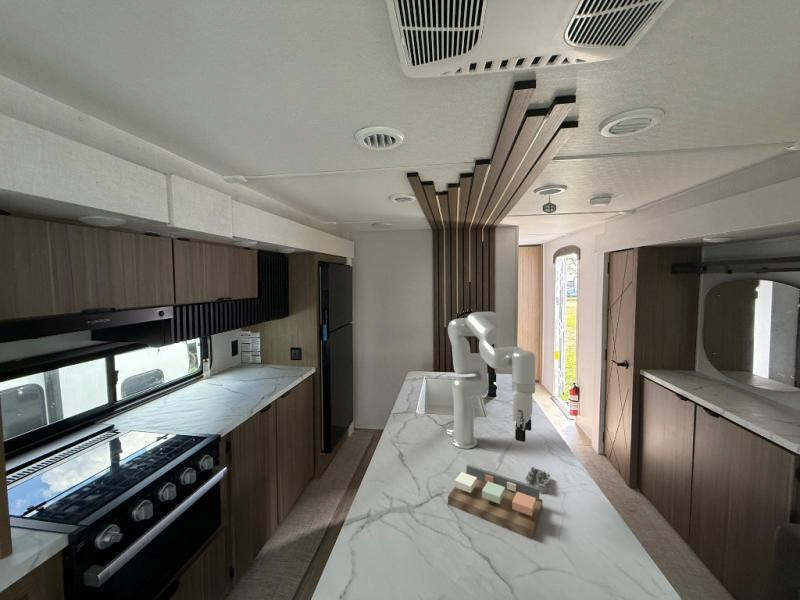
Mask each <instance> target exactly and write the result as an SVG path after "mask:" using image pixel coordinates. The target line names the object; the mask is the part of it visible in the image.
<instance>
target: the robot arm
mask: <svg viewBox="0 0 800 600" xmlns="http://www.w3.org/2000/svg"><path fill="white" fill-rule="evenodd" d="M500 325H501V320H500V316H499V315H498V313H496V312H494V311H475V312H471V313H469V315H468V316H467V317H461V318H455V319H452V320H450V321H449V323H448V326H447V333H448V334H447V335H448V338H449V340H450V345H451V352H452V353H451V355H452V364H453V370H454V373H456V374H457V375H471V374H474V375H472V376H462V377H457V378H455V379H453V381H452V382H451V390H452V397H453V429H451V428H447V429H446V435H447V436H450V443H451V444H452V445H453V447H456V448H459V449H467V450H468V449H472V448H475V447H477V445H478V440H477V438H476V437H475V407H474V404H473V402H472V401H471V400H470V398H475V397H483V396H486V395H487V394H488V392H489V377H488V376H489V375H488V374H489V373H488V366H489V367H490V368H492V369H494V370H495V369H496V370H500V369H509V368H511V391H513V397H512V418H511V419H512V420H513V421H515V429H514V430H515V434H514V437H515V438H514V439H515V441H519V442H523V443H525V442H526V437H527V435H526V431H529V432H531V431H532V415H533V394H535V393H536V355H535V353H534V352H532V351H530V350H525V349H523V348H522V347H519V346H505V347H502V346H501V347H495V346H492V345H494V344H495V343H496V342H497V341H498V340H499V337H500V331H499V327H500ZM466 337H476V338H477V339H478V340H479V342H478V350H479V352H473V353H472V352H471V345H470V343H469V341H468V339H467V338H466ZM487 365H488V366H487Z"/></svg>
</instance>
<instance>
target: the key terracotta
mask: <svg viewBox="0 0 800 600" xmlns="http://www.w3.org/2000/svg"><path fill="white" fill-rule="evenodd" d="M535 506H536V498H534V497H532V496H529V495H526V494H523V493H520V492H516V495H515V497H514V499H513V501H512V509H514V510H517V511H519V512H522V513H524V514H527V515H530V516H532V514H533V511H534V508H535Z"/></svg>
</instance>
